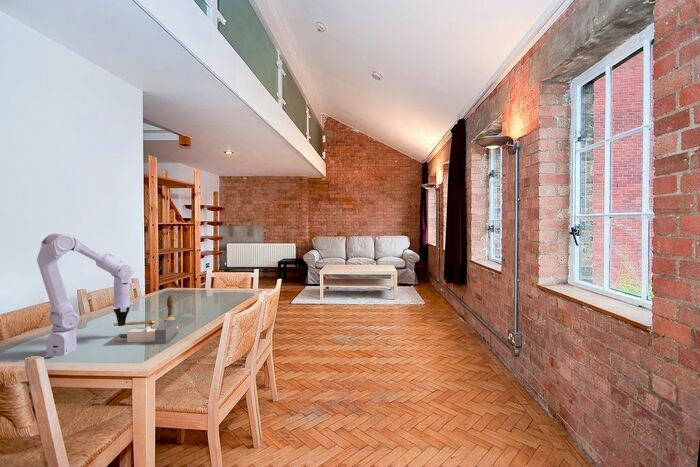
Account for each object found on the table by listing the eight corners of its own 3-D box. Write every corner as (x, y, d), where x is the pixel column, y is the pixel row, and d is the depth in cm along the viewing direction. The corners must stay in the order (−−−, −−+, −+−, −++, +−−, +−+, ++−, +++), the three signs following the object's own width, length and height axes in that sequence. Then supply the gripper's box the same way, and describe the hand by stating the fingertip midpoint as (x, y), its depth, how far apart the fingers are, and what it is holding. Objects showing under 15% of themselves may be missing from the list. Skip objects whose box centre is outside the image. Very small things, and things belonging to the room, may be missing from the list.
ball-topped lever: (113, 326, 153) (113, 323, 153) (114, 325, 155) (114, 322, 155) (154, 323, 158) (154, 321, 158) (155, 322, 161) (155, 319, 161)
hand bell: (183, 329, 170) (183, 294, 169) (166, 334, 162) (166, 297, 162) (172, 326, 174) (172, 292, 173) (155, 330, 167) (155, 295, 166)
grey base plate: (168, 345, 147) (168, 329, 147) (102, 347, 143) (102, 331, 143) (179, 333, 163) (179, 319, 162) (120, 335, 159) (120, 320, 158)
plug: (164, 341, 150) (164, 328, 150) (118, 342, 147) (118, 329, 147) (168, 338, 154) (168, 325, 154) (123, 339, 151) (123, 326, 151)
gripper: (135, 295, 151) (134, 328, 151) (130, 289, 162) (130, 320, 162) (114, 296, 146) (114, 331, 147) (111, 291, 158) (111, 322, 158)
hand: (121, 325), depth 154 cm, fingers closed, pressing on ball-topped lever
